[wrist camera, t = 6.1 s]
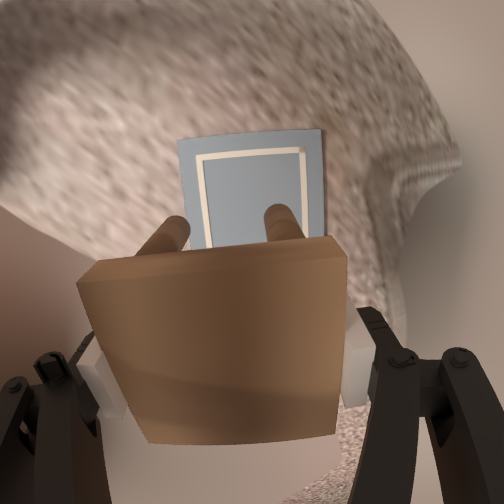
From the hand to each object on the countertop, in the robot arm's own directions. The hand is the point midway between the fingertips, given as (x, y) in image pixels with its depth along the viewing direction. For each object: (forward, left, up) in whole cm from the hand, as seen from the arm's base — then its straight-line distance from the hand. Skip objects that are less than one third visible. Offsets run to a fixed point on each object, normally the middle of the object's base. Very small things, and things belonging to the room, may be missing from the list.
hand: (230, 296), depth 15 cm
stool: (0, 0, -3) cm, 3 cm away
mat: (+2, 0, -18) cm, 18 cm away
